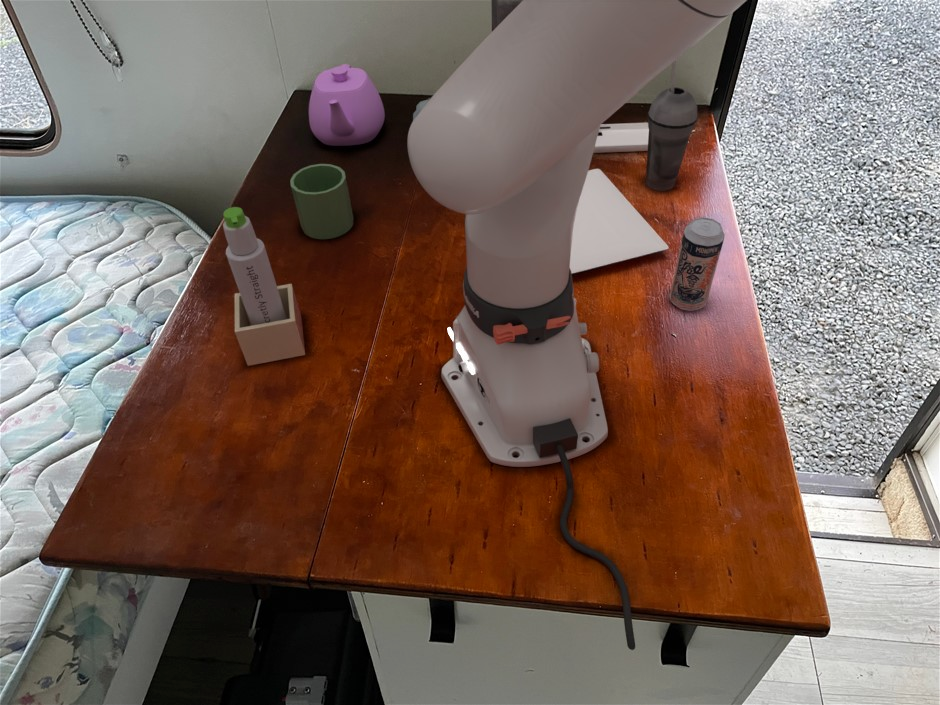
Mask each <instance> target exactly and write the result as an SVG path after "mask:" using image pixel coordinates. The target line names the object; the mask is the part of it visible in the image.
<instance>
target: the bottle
mask: <svg viewBox="0 0 940 705" xmlns="http://www.w3.org/2000/svg"><path fill="white" fill-rule="evenodd" d="M222 214H223V219H224V222H223V223H222V228H223V233H224V236H225V239H226V242H227V247H226V249H225V257H227V261H228V264H229V267H230V270H231V272H232V275H233V278H234V280H235V283H236V286H237V289H238V293H240V295H241V298H242V301H243V303H244V306H245V309H246V312H247V314H248V317H249V320H250V323H251V326H253V325H258V324H264V323H269V322H275V321H280V320H286V319H287V318H286V315H285V311H284V308H283V305H282V302H281V298H280V295H279V292H278V288H277V286H278V285H277V282H276V279H275V276H274V272H273V269H272V265H271V263H270V259H269V255H268V253H267V249H266V245H265V244H264V242H263V241H262V240H261V239H260V238H258V237H257V235H256V233H255V229H254V226H253V225H252V224H253V223H252V222H251V220H250V217H248V216H246V215H245V212H244V211H243V208H241V207H238V206H232V207H228V208H227V209H225V210H224V211H223V213H222Z"/></svg>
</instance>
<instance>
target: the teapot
mask: <svg viewBox="0 0 940 705" xmlns="http://www.w3.org/2000/svg"><path fill="white" fill-rule="evenodd" d="M385 117H386V113H385V108H384V104H383V100H382V98H381V95H380V93H379V91H378V89H377V87H376V86H375V84H374V83H373V81H372V80H371V78H370V76H369V74H368V73H367V72H366V71H365V70H364V69H362V68H359V67H352V66H351V65H350V64H349V63H343V64H340V65H339V66H334V67H333V68H329V69H325V70H323V71H322V72H320V73H319V74H318V76H317V77H316V78H315V80H314V83H313V86H312V90H311V94H310V98H309V102H308V122H309V127H310V130H311V133H312V134H313V135H314V137H315V138H316V139H318V140H319V141H320V142H321V143H322V144H323V145H327V146H332V147H333V146H336V147H344V146H345V147H346V146H347V147H348V146H357V145H364V144H367V143H369V142H372V141H373V140H374V139H375V138H376V137H377V136H378V135H379V133H380V132H381V130H382V127H383V125H384V124H385V119H386V118H385Z"/></svg>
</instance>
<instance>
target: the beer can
mask: <svg viewBox="0 0 940 705" xmlns="http://www.w3.org/2000/svg"><path fill="white" fill-rule="evenodd" d="M724 240H725V232H724V229H723V227H722V224H721V223H720V222H718V221H717V220H716V219H714V218H710V217H698V218H693V219H692V220H691V221H690V222H689V224H688V225H686V226H685V228H684V230H683V233H682V239H681V243H680V247H679V251H678V256H677V260H676V264H675V270H674V274H673V278H672V283H671V287H670V291H669V299H670V300H669V301H670V302H671V303H672V305H674V306H676V308H679V309H681V310H684V311H697V310H700V309H703V308H704V307H705V306H706V304H707V302H708V298H709V295H710V291H711V288H712V284H713V281H714V277H715V274H716V270H717V267H718V263H719V259H720V256H721V252H722V248H723V244H724Z"/></svg>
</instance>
